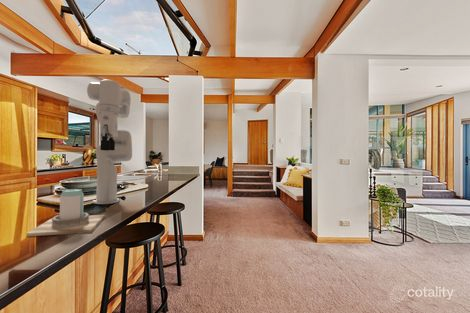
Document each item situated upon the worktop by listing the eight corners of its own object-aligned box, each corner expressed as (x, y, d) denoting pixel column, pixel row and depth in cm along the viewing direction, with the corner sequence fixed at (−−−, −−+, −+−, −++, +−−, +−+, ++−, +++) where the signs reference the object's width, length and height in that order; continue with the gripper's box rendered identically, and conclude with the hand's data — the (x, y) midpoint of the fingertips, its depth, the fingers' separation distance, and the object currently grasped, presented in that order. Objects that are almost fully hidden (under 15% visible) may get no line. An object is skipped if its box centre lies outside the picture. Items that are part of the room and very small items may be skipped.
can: (54, 224, 79) (55, 191, 79) (69, 218, 86) (70, 188, 86) (73, 225, 79) (74, 192, 79) (87, 219, 86) (88, 188, 86)
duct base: (53, 219, 88) (53, 210, 88) (104, 217, 94) (104, 209, 93) (26, 236, 71) (26, 225, 71) (91, 232, 76) (91, 222, 76)
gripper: (114, 107, 88) (113, 150, 88) (122, 114, 104) (121, 150, 104) (92, 105, 85) (91, 149, 86) (104, 112, 102) (103, 150, 102)
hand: (107, 150), depth 95 cm, fingers open, 9 cm apart
